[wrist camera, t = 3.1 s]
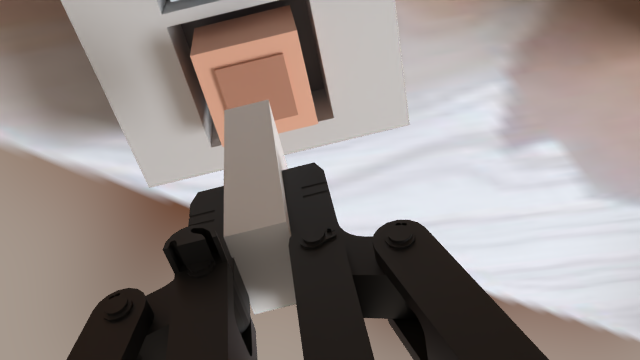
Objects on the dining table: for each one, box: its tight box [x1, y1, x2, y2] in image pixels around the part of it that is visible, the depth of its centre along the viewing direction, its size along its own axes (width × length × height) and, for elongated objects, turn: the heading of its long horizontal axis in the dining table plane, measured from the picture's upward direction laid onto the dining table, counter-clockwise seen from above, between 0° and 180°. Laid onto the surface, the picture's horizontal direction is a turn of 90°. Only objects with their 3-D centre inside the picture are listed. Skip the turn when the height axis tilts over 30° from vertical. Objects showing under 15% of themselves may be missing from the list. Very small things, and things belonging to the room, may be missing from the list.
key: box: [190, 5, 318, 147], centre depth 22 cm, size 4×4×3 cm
